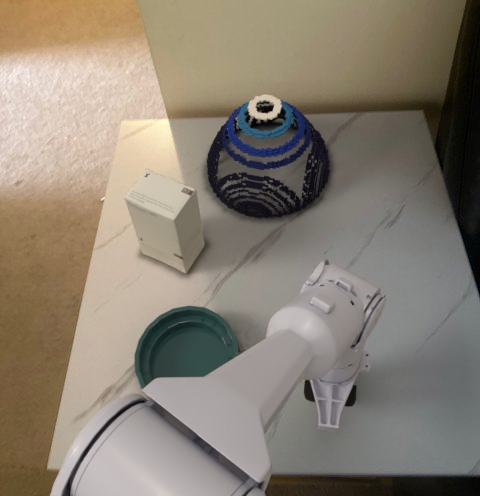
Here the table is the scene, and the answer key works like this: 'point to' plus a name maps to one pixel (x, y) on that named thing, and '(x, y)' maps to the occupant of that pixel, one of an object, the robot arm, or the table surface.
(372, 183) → the table surface
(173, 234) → the cosmetic box
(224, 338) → the glazed bowl
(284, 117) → the decorative bowl
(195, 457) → the robot arm
